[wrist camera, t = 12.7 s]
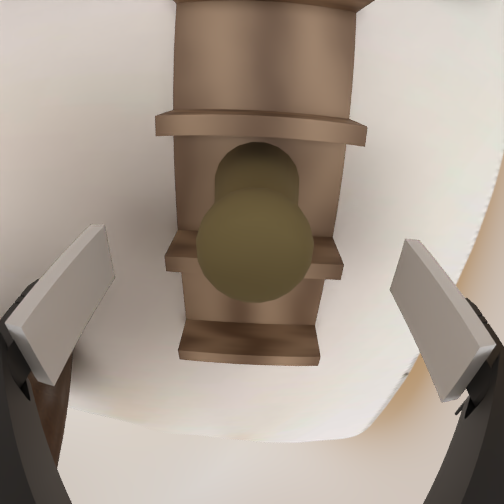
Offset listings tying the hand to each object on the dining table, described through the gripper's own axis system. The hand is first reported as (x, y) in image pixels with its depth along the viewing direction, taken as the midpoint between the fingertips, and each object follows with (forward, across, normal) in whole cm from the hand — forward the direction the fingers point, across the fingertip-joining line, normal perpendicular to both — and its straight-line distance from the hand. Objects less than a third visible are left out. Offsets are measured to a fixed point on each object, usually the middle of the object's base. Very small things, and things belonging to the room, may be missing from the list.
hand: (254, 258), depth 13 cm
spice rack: (+11, 0, 0) cm, 11 cm away
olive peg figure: (+10, 0, 0) cm, 10 cm away
